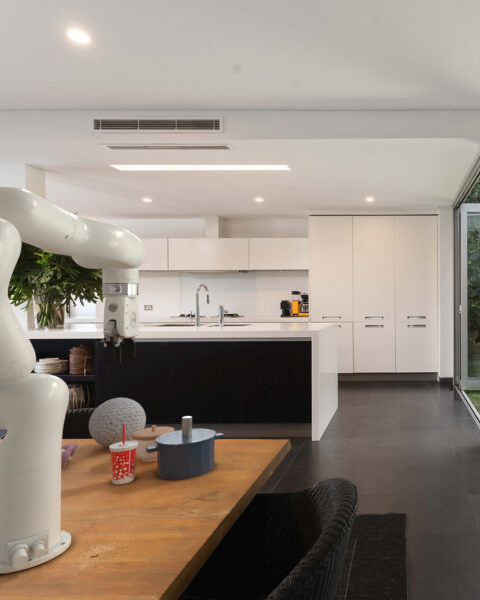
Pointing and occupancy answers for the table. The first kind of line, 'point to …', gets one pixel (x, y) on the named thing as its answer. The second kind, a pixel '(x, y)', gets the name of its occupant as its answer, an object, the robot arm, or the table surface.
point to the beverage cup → (123, 460)
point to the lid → (186, 435)
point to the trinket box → (148, 441)
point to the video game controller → (67, 453)
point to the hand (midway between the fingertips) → (120, 361)
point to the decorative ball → (116, 421)
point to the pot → (185, 459)
